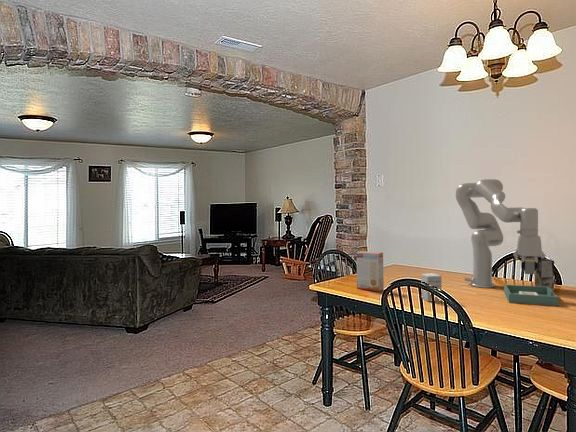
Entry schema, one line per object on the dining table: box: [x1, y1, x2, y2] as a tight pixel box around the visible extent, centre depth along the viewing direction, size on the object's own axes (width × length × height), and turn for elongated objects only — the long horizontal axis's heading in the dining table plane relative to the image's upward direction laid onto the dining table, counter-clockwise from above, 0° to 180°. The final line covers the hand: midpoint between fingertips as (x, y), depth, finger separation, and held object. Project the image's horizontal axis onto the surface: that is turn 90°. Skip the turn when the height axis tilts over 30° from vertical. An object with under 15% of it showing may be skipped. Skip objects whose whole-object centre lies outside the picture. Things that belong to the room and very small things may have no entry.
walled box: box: [503, 284, 559, 307], centre depth 201 cm, size 20×22×4 cm
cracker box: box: [356, 250, 385, 292], centre depth 227 cm, size 14×6×21 cm, turn 47°
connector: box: [523, 256, 535, 275], centre depth 202 cm, size 4×4×9 cm
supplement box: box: [421, 272, 443, 302], centre depth 202 cm, size 7×7×13 cm
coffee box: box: [534, 258, 555, 292], centre depth 220 cm, size 9×6×16 cm
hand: (529, 269), depth 202 cm, fingers closed on connector, 4 cm apart
